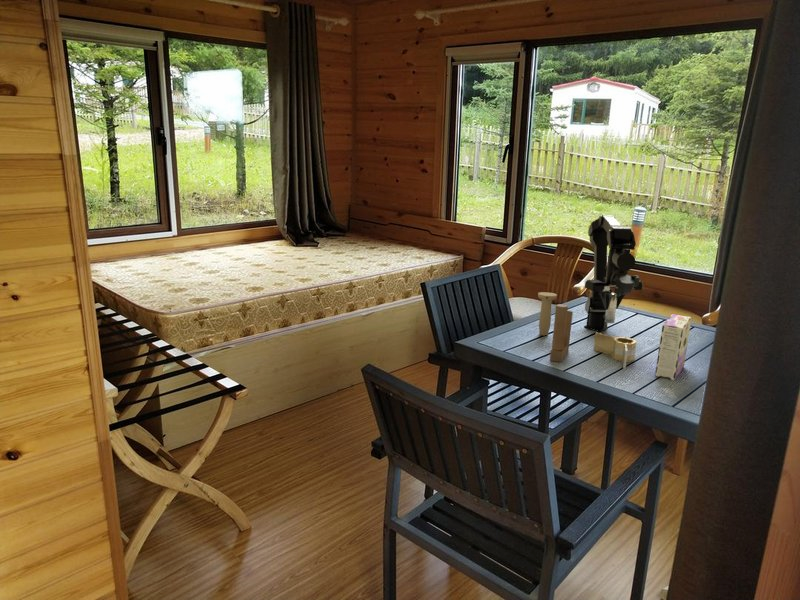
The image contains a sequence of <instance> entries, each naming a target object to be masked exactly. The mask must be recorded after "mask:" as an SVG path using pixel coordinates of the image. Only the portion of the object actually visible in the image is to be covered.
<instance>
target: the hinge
mask: <svg viewBox="0 0 800 600" xmlns="http://www.w3.org/2000/svg"><path fill="white" fill-rule="evenodd" d="M636 349H637V341H636V340H635V339H633V338H630V337H627V336H626V337H624V336H617V337H615V336H613V335H612V336H610V335H608V334H604V333H600V332H598V331H596V332H595V335H594V342H593V351H597V352H600V353H603V354H607V355H609V354H610V356H611V357H612V359H613V360H616V361H618V360H619V361H618V362H621V361H622V363H623V364H622V367H623V368H622V369H623V370H626V368H627V362H628V363H630V362H633V361H635V357H636Z"/></svg>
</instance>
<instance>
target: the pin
mask: <svg viewBox="0 0 800 600" xmlns="http://www.w3.org/2000/svg"><path fill="white" fill-rule="evenodd" d="M617 298H618V294H617V293H614V292H612V293H611V294H610V297H609V306H608V310H606V314H605V322H606V323H607V324H615V320H616V313H617V309H616V306H617Z"/></svg>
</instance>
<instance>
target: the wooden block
mask: <svg viewBox="0 0 800 600" xmlns="http://www.w3.org/2000/svg"><path fill="white" fill-rule="evenodd" d="M568 307H569V306H568V305H566V304H562V303H561V304H560V303H559V304H556V305H555V309H554V310H555V311H554V312H555V313H554V323H553V333H552V342H551V350H550V354H549V361H552V362H556V363H562V362H563V360H564V359H565V357H566V356H567V355H568V353H569V349H570V340H571V330H572V323H573V321H572V320H573V313H574V312H573V311H571V310H568Z"/></svg>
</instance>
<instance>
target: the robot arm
mask: <svg viewBox="0 0 800 600" xmlns="http://www.w3.org/2000/svg"><path fill="white" fill-rule="evenodd" d="M587 235H588V237H589V243H590V244H591V246H592V248H593V253H594V254H593V279H587V280H586V281H585V282H584V288H585V289H587V290H590V292H589V295H588V298H587V300H586V302H585V303H584V304H585V305H584V310H585V312H586V314H587V316H586V317H587V318H586V325H584V326H583V327H584V329H588V330H592V331H596V332H602V331H605V330H607V329H608V328H609V327H608V323H606V322H605V314H606V310H608V306H609V297H610V294H611V293H617V294H618V298H617V306H616V310H618V308H619V307H620V305H621V303H622V301H623V299H624V297H625V296H626V295H628V294H629V293H631V292H632V291H633V290H635V291H642V290H643V289H644V284H643V281H642V280H640V276H639V275H636V274H635V275H629V274H628V273H629V272H628V271H631V270H632V269H633V268H635V265H636V257H635V256H634V255H633V254H632V253H631V251H632V250H633V251H634V250H635V249H636V248H635V247H636V244H637V243H636V239H635V238H636V237H635V234H634V230H632V228H631V227H630V226H626V225H622V224H621V223H620V222H619V221H618V220H617V218H616V216H615V215H613V214H601V215H599V217H598V218H596V219H595V220H593V221H591V222H590V225H589V226H588V230H587ZM608 249H609V250H608ZM611 288H614V292H613V291H612V289H611Z"/></svg>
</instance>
